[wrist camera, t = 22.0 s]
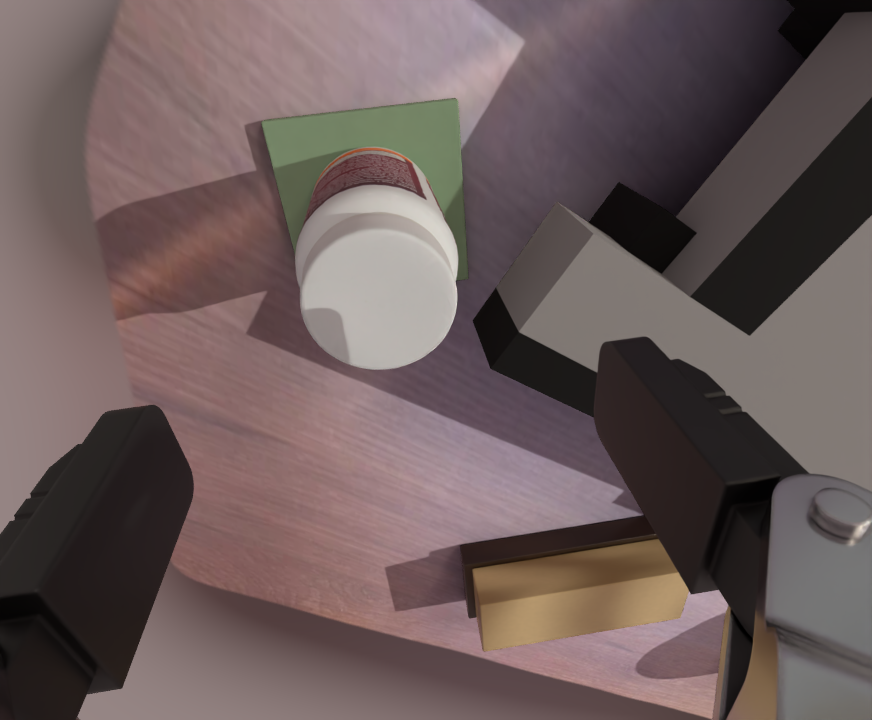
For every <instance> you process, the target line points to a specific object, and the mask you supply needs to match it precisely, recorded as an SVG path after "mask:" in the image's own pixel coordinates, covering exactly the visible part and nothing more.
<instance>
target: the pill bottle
mask: <svg viewBox="0 0 872 720" xmlns="http://www.w3.org/2000/svg"><path fill="white" fill-rule="evenodd" d="M295 268H296V276H297V281H298V284H299V288H300V308H301V313H302V317H303V320H304V323H305V325H306V327H307V329H308V331H309V333H310V335H311V336H312V337H313V339H314V340H315V341H316V342H317V344H318V345H319V346H320V347H321V348H322V349H323V350H325V351H326V352H327V353H328V354H330V355H331V356H333V357H334V358H336V359H338V360H339V361H342V362H344V363H346V364H349V365H351V366H355V367H359V368H364V369H370V370H384V369H393V368H398V367H402V366H405V365H408V364H411V363H413V362H415V361H417V360H419V359H421V358H423V357H424V356H426V355H427V354H429V353H430V352H431V351H433V350H434V349H435V348H436V347H437V346H438V345H439V344H440V343H441V342H442V340H443V339H444V338H445V336H446V335H447V333H448V331H449V329H450V328H451V325H452V323H453V321H454V317H455V313H456V308H457V287H456V278H457V272H458V250H457V244H456V241H455V238H454V236H453V233H452V231H451V228H450V227H449V225H448V224H447V221H446V219H445V216H444V214H443V212H442V210H441V208H440V205H439V203H438V201H437V199H436V197H435V195H434V193H433V190H432V187H431V186H430V184H429V182H428V180H427V178H426V177H425V175H424V174H423V172H422V171H421V170H420V169H419V168H418V166H417V165H416V164H415V163H414V162H412V161H411V160H410V159H408V158H407V157H405V156H403V155H402V154H400V153H398V152H396V151H393V150H390V149H387V148H382V147H361V148H356V149H353V150H350V151H348V152H345V153H343V154H342V155H340V156H338V157H337V158H336V159H334V160H333V161H332V162H331V163H329V164H328V166H327V167H326V168H325V169H324V170H323V172H322V173H321V175H320V176H319V178H318V180H317V182H316V185H315V187H314V190H313V193H312V196H311V200H310V204H309V207H308V210H307V214H306V216H305V220H304V223H303V227H302V229H301V232H300V234H299V236H298V240H297V245H296V253H295Z"/></svg>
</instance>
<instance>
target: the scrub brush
mask: <svg viewBox="0 0 872 720" xmlns="http://www.w3.org/2000/svg"><path fill="white" fill-rule="evenodd" d="M460 550H461V560H462V570H463V580H464V590H465V599H466V605H467V611H468V616H469V618H475V617H477V622H478V628H479V633H480V638H481V643H482V649H483V651H484V652H485V651H490V650H496V649H502V648H508V647H514V646H520V645H526V644H532V643H537V642H543V641H549V640H555V639H561V638H567V637H573V636H579V635H584V634H590V633H596V632H602V631H608V630H614V629H620V628H625V627H631V626H637V625H643V624H649V623H655V622H661V621H667V620H672V619H678V618H680V617H681V614H682V611H683V608H684V605H685V601H686V598H687V595H688V592H689V590H688V588H687V586H686V584H685V583H684V581H683V579H682V578H681V576H680V574H679V573H678V571H677V569H676V568H675V566H674V564H673V562H672V561H671V559H670V557H669V556H668V554H667V552H666V551H665V549H664V547H663V545H662V544H661V542H660V540H659V539H658V537H657V535H656V534H655V532H654V530H653V529H652V527H651V525H650V523H649V522H648V520H647V518H646V517H645V516H642V517H636V518H630V519H623V520H617V521H611V522H605V523H598V524H592V525H586V526H579V527H573V528H567V529H561V530H554V531H548V532H542V533H535V534H529V535H523V536H517V537H510V538H504V539H498V540H492V541H485V542H479V543H473V544H466V545H461V546H460Z"/></svg>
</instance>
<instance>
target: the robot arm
mask: <svg viewBox="0 0 872 720" xmlns="http://www.w3.org/2000/svg"><path fill="white" fill-rule="evenodd" d="M594 420H595V426H596V430H597V433H598V436H599V438H600V440H601V442H602V444H603V445H604V447H605V449H606V450H607V452H608V454H609V456H610V457H611V459H612V461H613V462H614V464H615V466H616V467H617V469H618V471H619V473H620V474H621V476H622V478H623V479H624V481H625V483H626V484H627V486H628V488H629V490H630V491H631V493H632V495H633V496H634V498H635V500H636V501H637V503H638V505H639V506H640V508H641V510H642V512H643V513H644V515H645V517H646V518H647V520H648V522H649V523H650V525H651V527H652V529H653V530H654V532H655V534H656V535H657V537H658V539H659V540H660V542H661V544H662V545H663V547H664V549H665V551H666V552H667V554H668V556H669V557H670V559H671V561H672V562H673V564H674V566H675V568H676V569H677V571H678V573H679V574H680V576H681V578H682V579H683V581H684V583H685V584H686V586H687V588H688V590H689V591H690V593H691V594H696V593H702V592H708V591H714V590H719V591H720V592H721V594H722V595H723V597H724V598H725V600H726V602H727V603H728V605H729V606H728V608H727V611H726V615H725V619H724V628H723V636H722V644H721V652H720V661H719V669H718V677H717V685H716V694H715V702H714V710H713V718H712V720H872V492H871V491H869V490H867V489H865V488H863V487H861V486H859V485H857V484H854V483H852V482H849V481H847V480H844V479H840V478H837V477H833V476H828V475H821V474H810V473H808V472H807V471H806V470H805V469H804V468H803V467H802V466H801V465H800V464H799V463H798V462H797V461H796V460H795V459H794V458H793V457H792V456H791V455H790V454H789V453H788V452H787V451H786V450H785V449H784V448H783V447H782V446H781V445H780V444H779V443H778V442H777V441H776V440H775V439H774V438H773V437H772V436H771V435H769V434H768V433H767V432H766V431H765V430H764V429H763V428H762V427H761V426H760V425H759V424H758V423H757V422H756V421H755V420H754V419H753V418H752V417H751V416H750V415H749V414H748V413H747V412H743V411H742V407H741V406H740V405H739V404H738V403H737V402H736V401H735V400H734V399H733V398H732V397H731V396H726V392H725V391H724V390H723V389H722V388H721V387H720V386H719V385H718V384H717V383H716V382H715V381H714V380H713V379H712V378H711V377H710V376H709V375H708V374H707V373H705V372H704V371H702V370H700V369H698V368H696V367H694V366H692V365H690V364H688V363H686V362H684V361H682V360H681V359H673V360H670V359H669V358H668V357H667V356H666V354H665V353H664V352H663V351H662V350H661V349H660V348H659V347H658V346H657V345H656V344H655V343H654V342H653V341H652V340H651V339H650V338H648V337H646V336H643V337H635V338H628V339H621V340H614V341H607V342H604V343H603V344H602V346H601V348H600V352H599V361H598V371H597V381H596V390H595V400H594ZM193 491H194V483H193V475H192V471H191V468H190V466H189V464H188V462H187V459H186V457H185V455H184V453H183V451H182V449H181V447H180V445H179V443H178V441H177V439H176V437H175V435H174V433H173V431H172V429H171V427H170V425H169V423H168V421H167V419H166V417H165V415H164V413H163V411H162V410H161V409H160V408H159V407H157V406H156V405H148V406H140V407H133V408H127V409H119V410H112V411H108V412H105V413H104V414H103V415H102V416H101V417H100V419H99V420H98V422H97V423H96V425H95V426H94V427H93V429H92V430H91V432H90V433H89V434H88V436H87V437H86V439H85V440H84V442H83V443H82V444H78V445H76V446H75V447H74V448H73V449H71V450H70V451H69V452H68V453H67V454H65V455H64V456H63V457H62V458H61V459H59V460H58V461H57V462H56V463H55V464H53V465H52V466H51V467H50V468H49V469H48V470H47V471H46V473H45V474H44V476H43V477H42V478H41V480H40V481H39V482H38V484H37V485H36V486H35V488H34V489H33V491H32V492H31V493H30V494H31V498H30V499H26V500H25V501H24V503H23V504H22V506H21V507H20V508H19V510H18V511H17V512H16V514H15V515H14V516H15V520H14V521H10V522H9V523H8V525H7V526H6V528H5V529H4V530H3V532H2V533H1V534H0V720H80V719H79V718H78V717H77V716H78V714H79V711H80V709H81V706H82V704H83V701H84V699H85V697H86V695H87V694H92V693H98V692H104V691H110V690H116V689H121V688H122V687H123V684H124V681H125V679H126V676H127V673H128V671H129V668H130V666H131V663H132V660H133V657H134V655H135V652H136V650H137V647H138V644H139V642H140V639H141V636H142V633H143V631H144V628H145V625H146V623H147V620H148V617H149V615H150V612H151V609H152V607H153V604H154V601H155V599H156V596H157V593H158V591H159V588H160V585H161V583H162V580H163V577H164V574H165V572H166V569H167V566H168V564H169V561H170V558H171V556H172V553H173V550H174V548H175V545H176V542H177V540H178V537H179V534H180V532H181V529H182V526H183V523H184V521H185V518H186V515H187V513H188V510H189V507H190V505H191V502H192V498H193Z"/></svg>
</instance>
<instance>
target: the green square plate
mask: <svg viewBox="0 0 872 720" xmlns="http://www.w3.org/2000/svg"><path fill="white" fill-rule="evenodd" d="M261 125H262V128H263V132H264V136H265V140H266V144H267V148H268V152H269V156H270V160H271V164H272V167H273V171H274V175H275V179H276V183H277V187H278V191H279V195H280V199H281V203H282V206H283V210H284V214H285V218H286V222H287V226H288V230H289V234H290V238H291V241H292V245H293V249H294V253H296V245H297V240H298V236H299V234H300V232H301V229H302V227H303V223H304V220H305V216H306V214H307V210H308V207H309V204H310V200H311V196H312V193H313V190H314V187H315V185H316V182H317V180H318V178H319V176H320V175H321V173H322V172H323V170H324V169H325V168H326V167H327V166H328V164H329V163H331V162H332V161H333V160H334V159H336V158H337V157H338V156H340V155H342V154H343V153H345V152H348V151H350V150H353V149H356V148H361V147H382V148H387V149H390V150H393V151H396V152H398V153H400V154H402V155H403V156H405V157H407V158H408V159H410V160H411V161H412V162H414V163H415V164H416V165H417V166H418V168H419V169H420V170H421V171H422V172H423V174H424V175H425V177H426V178H427V180H428V182H429V184H430V186H431V187H432V190H433V193H434V195H435V197H436V199H437V201H438V203H439V205H440V208H441V210H442V212H443V214H444V216H445V219H446V221H447V224H448V225H449V227H450V228H451V231H452V233H453V236H454V238H455V241H456V244H457V250H458V272H457V278H456V281H458V280H465V279H468V261H467V244H466V227H465V210H464V193H463V176H462V159H461V142H460V125H459V108H458V100H457V99H456V98H451V99H442V100H434V101H425V102H416V103H408V104H399V105H390V106H381V107H373V108H364V109H355V110H347V111H338V112H329V113H321V114H312V115H303V116H295V117H286V118H277V119H268V120H264V121H262V122H261Z"/></svg>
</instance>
